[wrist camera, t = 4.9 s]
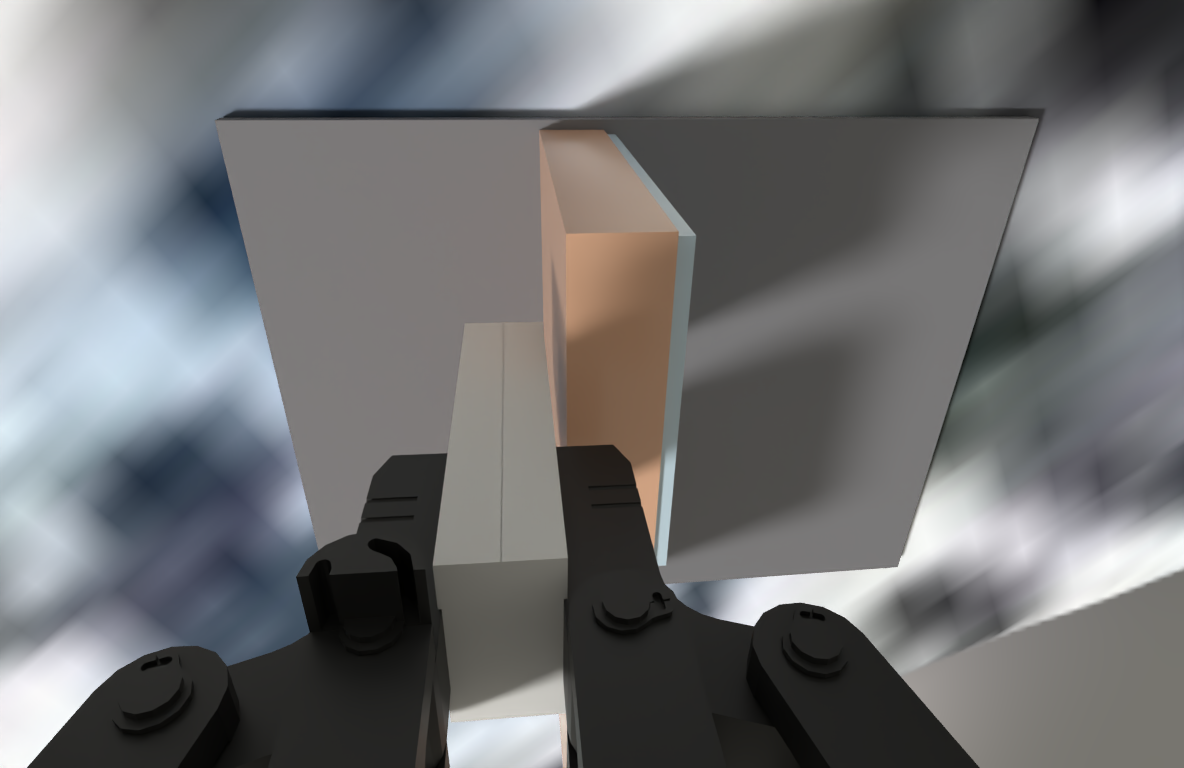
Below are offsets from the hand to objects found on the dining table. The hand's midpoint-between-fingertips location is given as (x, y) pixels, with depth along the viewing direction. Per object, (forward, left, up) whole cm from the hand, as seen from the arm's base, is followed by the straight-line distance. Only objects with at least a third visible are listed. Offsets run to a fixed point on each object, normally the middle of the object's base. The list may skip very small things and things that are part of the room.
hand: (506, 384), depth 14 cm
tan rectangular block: (0, +2, -7) cm, 7 cm away
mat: (+4, +4, -7) cm, 9 cm away
